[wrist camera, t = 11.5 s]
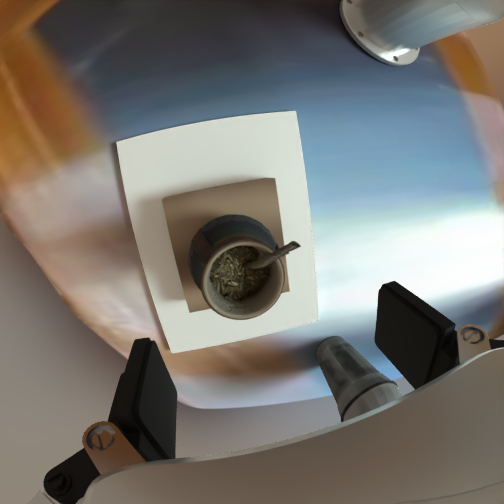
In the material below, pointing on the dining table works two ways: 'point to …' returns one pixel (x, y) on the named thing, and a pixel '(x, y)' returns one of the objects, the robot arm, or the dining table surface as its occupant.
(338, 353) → the beverage cup
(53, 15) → the dining table surface
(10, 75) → the dining table surface
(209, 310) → the board
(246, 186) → the walnut plinth
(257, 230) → the mate gourd
